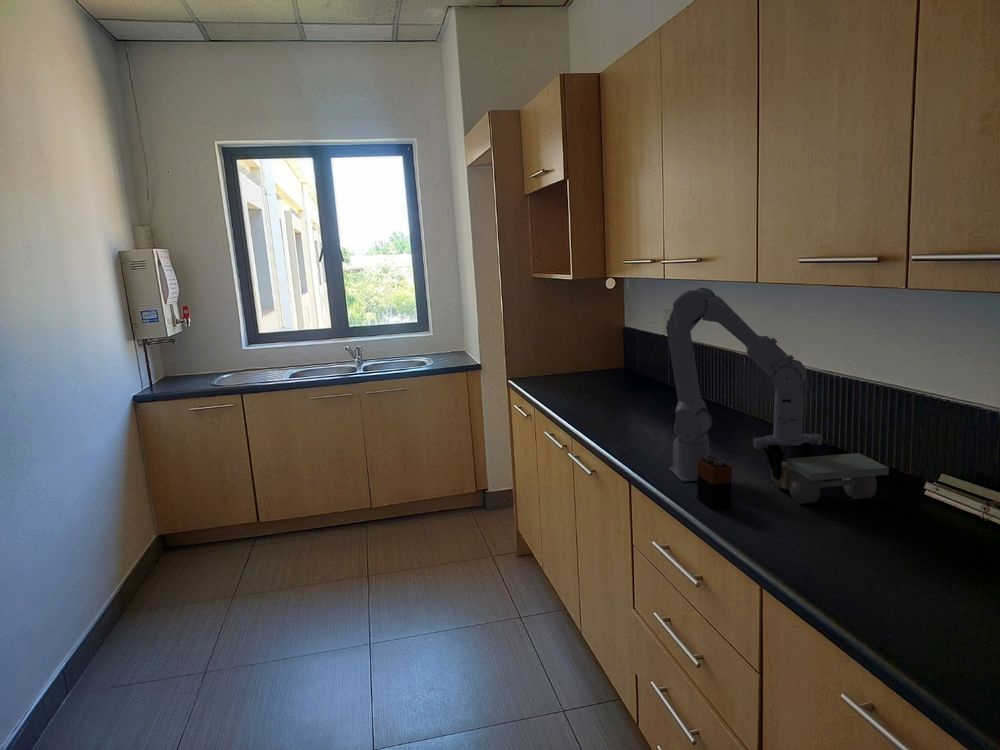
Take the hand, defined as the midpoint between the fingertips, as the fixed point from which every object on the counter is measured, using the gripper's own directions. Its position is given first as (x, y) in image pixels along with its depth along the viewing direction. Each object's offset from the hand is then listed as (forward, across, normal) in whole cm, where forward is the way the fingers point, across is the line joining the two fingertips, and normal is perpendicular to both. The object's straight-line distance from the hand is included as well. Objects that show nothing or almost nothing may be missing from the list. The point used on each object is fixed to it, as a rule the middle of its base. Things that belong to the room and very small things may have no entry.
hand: (786, 477), depth 140 cm
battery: (+3, -18, -4) cm, 19 cm away
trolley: (+3, +6, -8) cm, 11 cm away
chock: (+1, 0, 0) cm, 1 cm away
